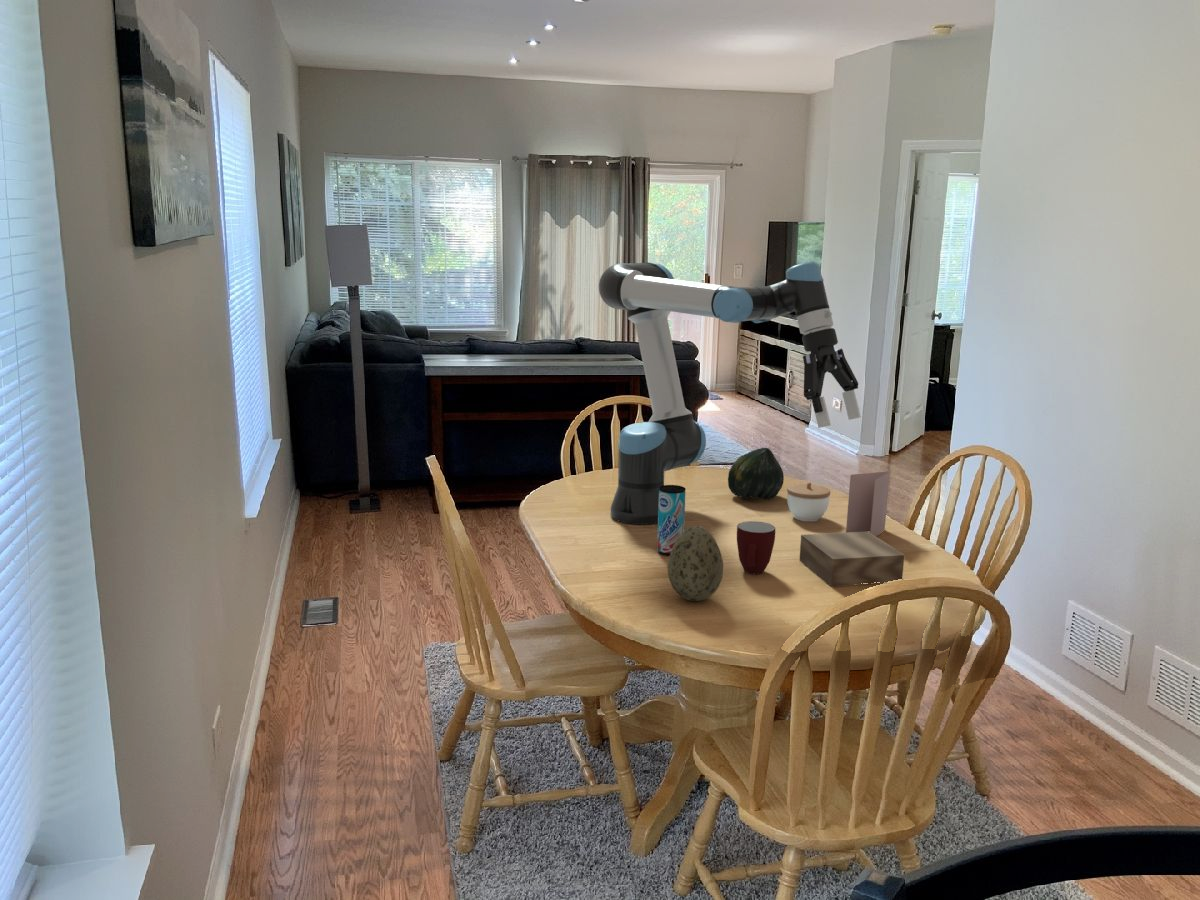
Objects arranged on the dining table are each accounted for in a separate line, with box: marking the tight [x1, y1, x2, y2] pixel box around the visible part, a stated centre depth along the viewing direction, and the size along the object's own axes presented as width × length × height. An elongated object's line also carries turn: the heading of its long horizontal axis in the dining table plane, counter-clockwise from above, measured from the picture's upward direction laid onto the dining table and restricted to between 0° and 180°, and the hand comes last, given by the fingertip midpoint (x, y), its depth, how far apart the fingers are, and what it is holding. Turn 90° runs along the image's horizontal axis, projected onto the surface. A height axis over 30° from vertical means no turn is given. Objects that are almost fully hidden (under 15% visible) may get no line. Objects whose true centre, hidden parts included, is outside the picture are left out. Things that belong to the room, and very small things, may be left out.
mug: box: [736, 520, 776, 575], centre depth 197 cm, size 10×8×10 cm
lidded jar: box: [786, 481, 831, 523], centre depth 237 cm, size 11×11×9 cm
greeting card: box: [845, 471, 891, 537], centre depth 224 cm, size 11×7×15 cm, turn 111°
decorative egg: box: [667, 525, 724, 602], centre depth 182 cm, size 11×11×15 cm
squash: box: [727, 447, 785, 500], centre depth 256 cm, size 14×15×15 cm
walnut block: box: [798, 531, 905, 588], centre depth 200 cm, size 16×16×6 cm
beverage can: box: [656, 484, 686, 556], centre depth 209 cm, size 6×6×15 cm
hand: (840, 422), depth 210 cm, fingers open, 13 cm apart
